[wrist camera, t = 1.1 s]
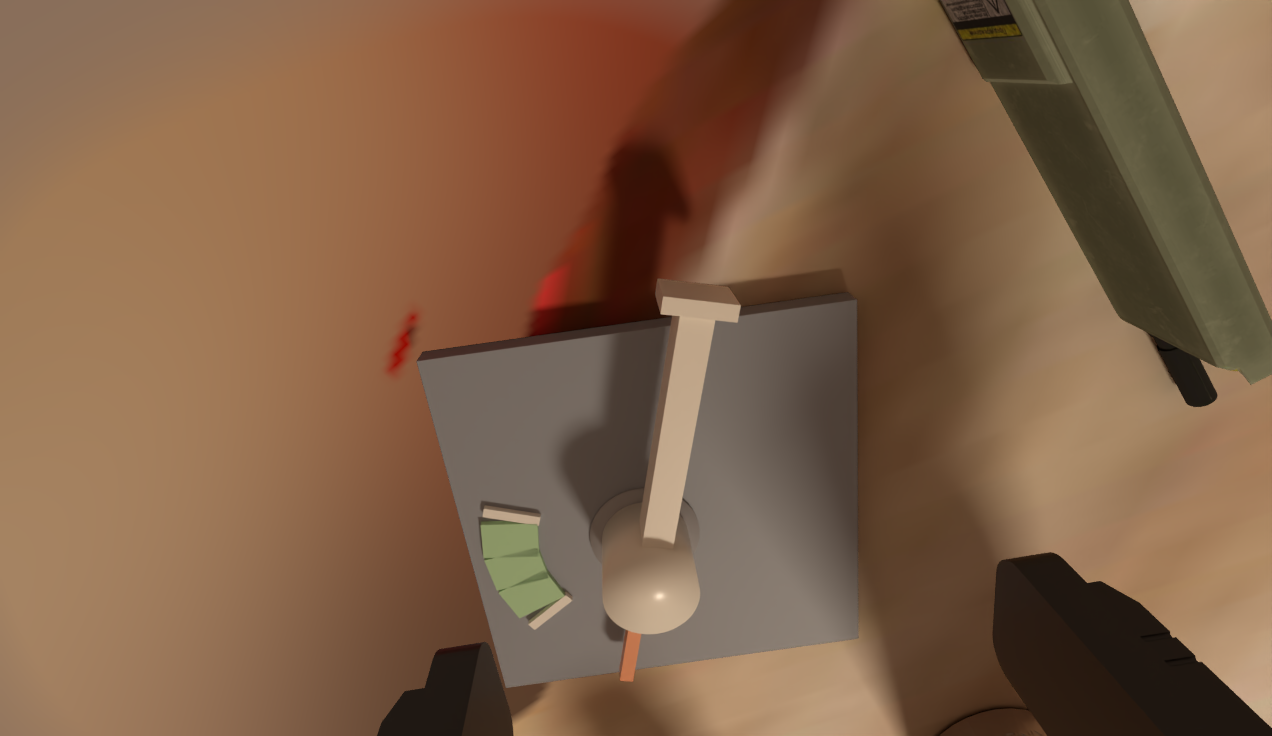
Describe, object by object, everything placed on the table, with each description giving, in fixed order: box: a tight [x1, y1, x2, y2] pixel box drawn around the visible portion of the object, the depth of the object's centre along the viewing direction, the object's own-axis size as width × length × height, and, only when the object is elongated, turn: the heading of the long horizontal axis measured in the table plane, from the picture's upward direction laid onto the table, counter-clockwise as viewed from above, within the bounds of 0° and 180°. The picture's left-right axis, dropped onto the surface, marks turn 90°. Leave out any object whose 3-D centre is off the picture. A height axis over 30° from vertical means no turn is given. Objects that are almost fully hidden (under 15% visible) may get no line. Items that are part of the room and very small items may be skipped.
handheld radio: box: [940, 0, 1272, 407], centre depth 28 cm, size 7×3×25 cm
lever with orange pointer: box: [602, 279, 741, 682], centre depth 32 cm, size 22×4×4 cm, turn 172°
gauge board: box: [417, 292, 858, 688], centre depth 35 cm, size 20×20×2 cm
